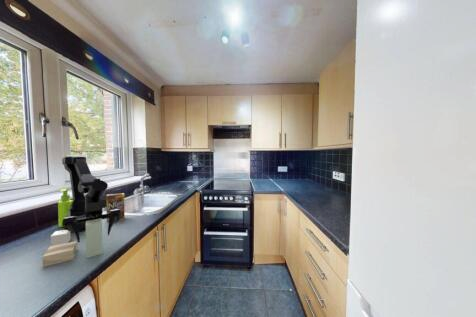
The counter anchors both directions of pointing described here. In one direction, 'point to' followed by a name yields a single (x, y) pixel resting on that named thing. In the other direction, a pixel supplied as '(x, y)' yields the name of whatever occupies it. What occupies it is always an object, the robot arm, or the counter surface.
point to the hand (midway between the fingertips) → (94, 238)
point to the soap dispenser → (63, 206)
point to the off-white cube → (60, 237)
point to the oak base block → (60, 253)
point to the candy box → (115, 203)
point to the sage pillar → (94, 237)
